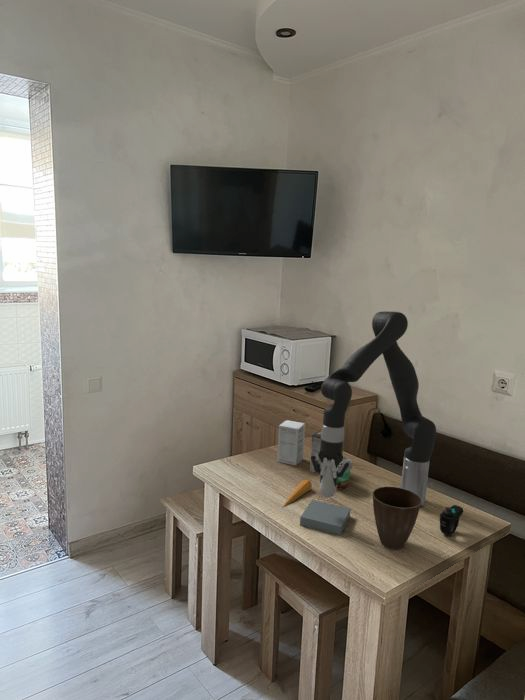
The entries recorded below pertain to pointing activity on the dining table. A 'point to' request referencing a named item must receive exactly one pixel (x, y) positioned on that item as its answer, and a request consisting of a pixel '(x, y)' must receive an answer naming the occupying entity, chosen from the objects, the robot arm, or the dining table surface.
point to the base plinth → (325, 517)
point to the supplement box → (291, 442)
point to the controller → (450, 519)
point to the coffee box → (315, 448)
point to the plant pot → (395, 515)
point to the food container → (344, 479)
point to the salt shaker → (327, 481)
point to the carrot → (299, 491)
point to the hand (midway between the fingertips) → (328, 485)
